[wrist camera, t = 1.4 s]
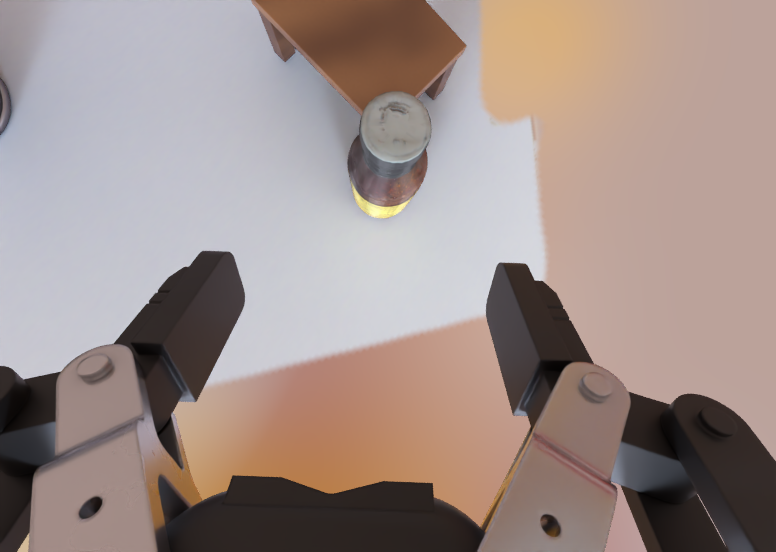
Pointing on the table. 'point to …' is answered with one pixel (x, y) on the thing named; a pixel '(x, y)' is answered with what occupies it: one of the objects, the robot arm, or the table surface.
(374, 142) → the sauce bottle
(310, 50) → the small brown wooden table
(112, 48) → the table surface
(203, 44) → the table surface
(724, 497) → the robot arm
